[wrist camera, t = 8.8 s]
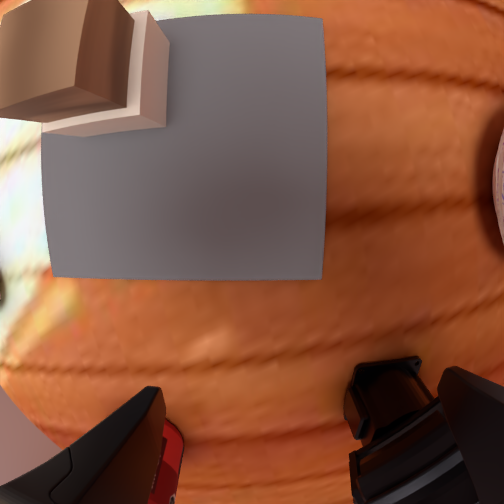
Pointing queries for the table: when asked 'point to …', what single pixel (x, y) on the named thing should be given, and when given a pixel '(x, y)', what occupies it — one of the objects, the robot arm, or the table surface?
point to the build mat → (204, 164)
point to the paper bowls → (499, 185)
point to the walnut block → (64, 59)
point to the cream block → (131, 88)
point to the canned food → (167, 467)
